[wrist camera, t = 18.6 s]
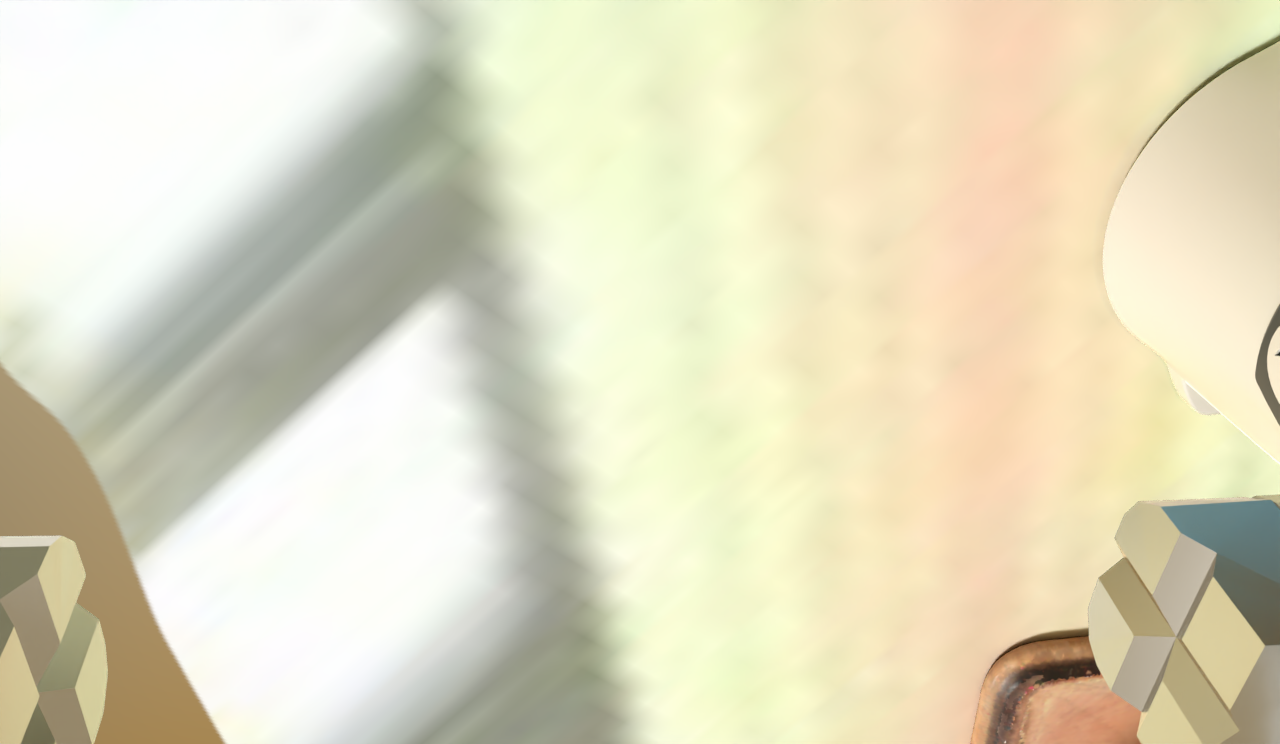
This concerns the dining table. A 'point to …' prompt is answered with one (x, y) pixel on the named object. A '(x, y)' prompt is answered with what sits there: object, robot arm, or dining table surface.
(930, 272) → the dining table surface
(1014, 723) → the case
